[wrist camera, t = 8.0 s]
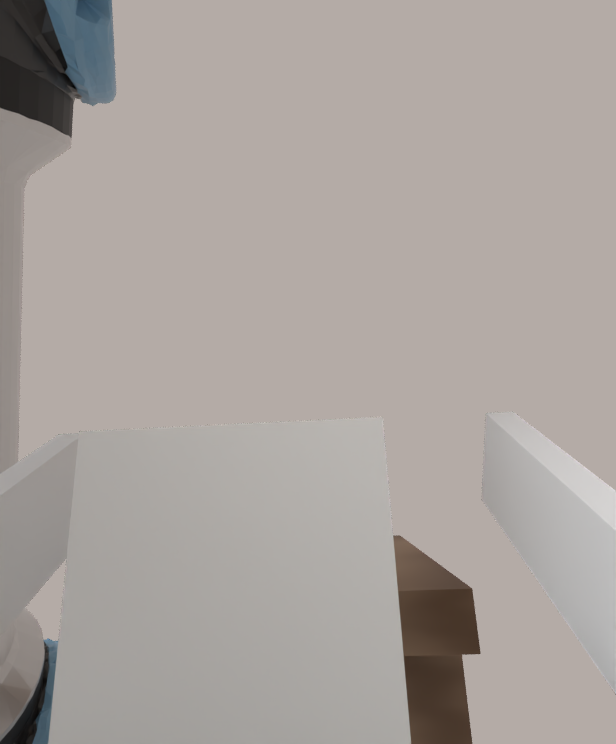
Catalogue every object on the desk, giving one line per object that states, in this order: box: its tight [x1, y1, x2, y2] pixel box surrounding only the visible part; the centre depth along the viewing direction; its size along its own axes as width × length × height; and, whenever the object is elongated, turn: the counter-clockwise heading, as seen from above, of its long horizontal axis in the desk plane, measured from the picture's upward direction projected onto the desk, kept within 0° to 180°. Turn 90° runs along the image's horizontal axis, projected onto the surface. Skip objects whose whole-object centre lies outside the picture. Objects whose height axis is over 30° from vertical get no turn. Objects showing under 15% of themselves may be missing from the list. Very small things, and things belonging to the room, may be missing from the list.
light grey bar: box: [48, 417, 411, 744], centre depth 18 cm, size 5×27×5 cm, turn 177°
